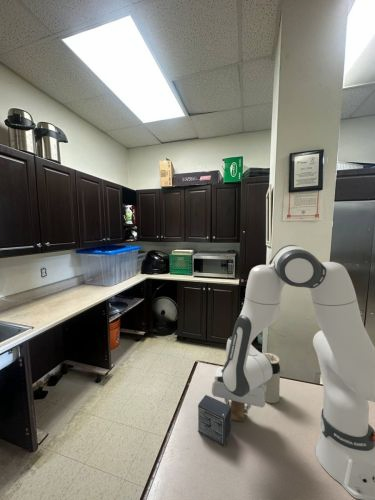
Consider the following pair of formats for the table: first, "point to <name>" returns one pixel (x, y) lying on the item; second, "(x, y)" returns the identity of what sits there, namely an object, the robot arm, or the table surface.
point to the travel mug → (273, 380)
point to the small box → (214, 420)
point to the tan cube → (237, 411)
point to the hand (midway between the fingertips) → (237, 410)
